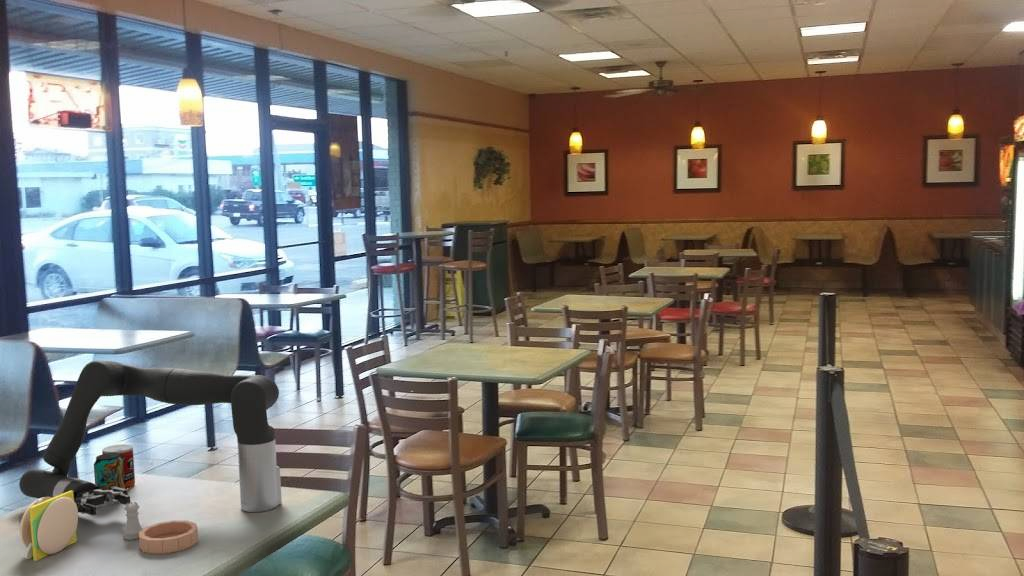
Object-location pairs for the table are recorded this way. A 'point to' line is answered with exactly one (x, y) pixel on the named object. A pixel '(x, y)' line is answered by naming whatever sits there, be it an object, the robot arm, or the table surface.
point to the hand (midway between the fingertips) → (112, 505)
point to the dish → (168, 537)
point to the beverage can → (109, 472)
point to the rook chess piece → (132, 522)
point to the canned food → (124, 462)
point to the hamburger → (49, 525)
